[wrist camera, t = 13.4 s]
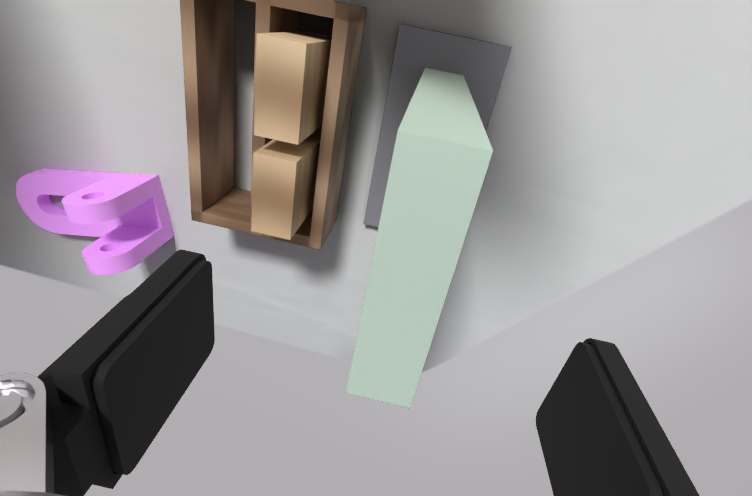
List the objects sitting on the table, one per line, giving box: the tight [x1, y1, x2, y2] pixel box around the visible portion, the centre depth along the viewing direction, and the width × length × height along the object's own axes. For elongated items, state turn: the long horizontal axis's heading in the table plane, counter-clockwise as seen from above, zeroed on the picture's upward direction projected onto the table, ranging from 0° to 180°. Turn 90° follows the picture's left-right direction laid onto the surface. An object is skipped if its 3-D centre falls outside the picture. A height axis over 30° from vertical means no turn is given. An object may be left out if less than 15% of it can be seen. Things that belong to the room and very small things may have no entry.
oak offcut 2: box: [251, 128, 322, 240], centre depth 27 cm, size 5×2×8 cm, turn 170°
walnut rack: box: [180, 0, 366, 249], centre depth 27 cm, size 15×9×5 cm, turn 170°
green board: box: [346, 68, 493, 408], centre depth 21 cm, size 10×2×18 cm, turn 170°
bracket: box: [16, 169, 174, 275], centre depth 33 cm, size 13×6×7 cm, turn 89°
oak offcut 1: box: [254, 31, 332, 145], centre depth 24 cm, size 5×2×8 cm, turn 170°
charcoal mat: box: [364, 24, 512, 227], centre depth 29 cm, size 14×7×1 cm, turn 170°
